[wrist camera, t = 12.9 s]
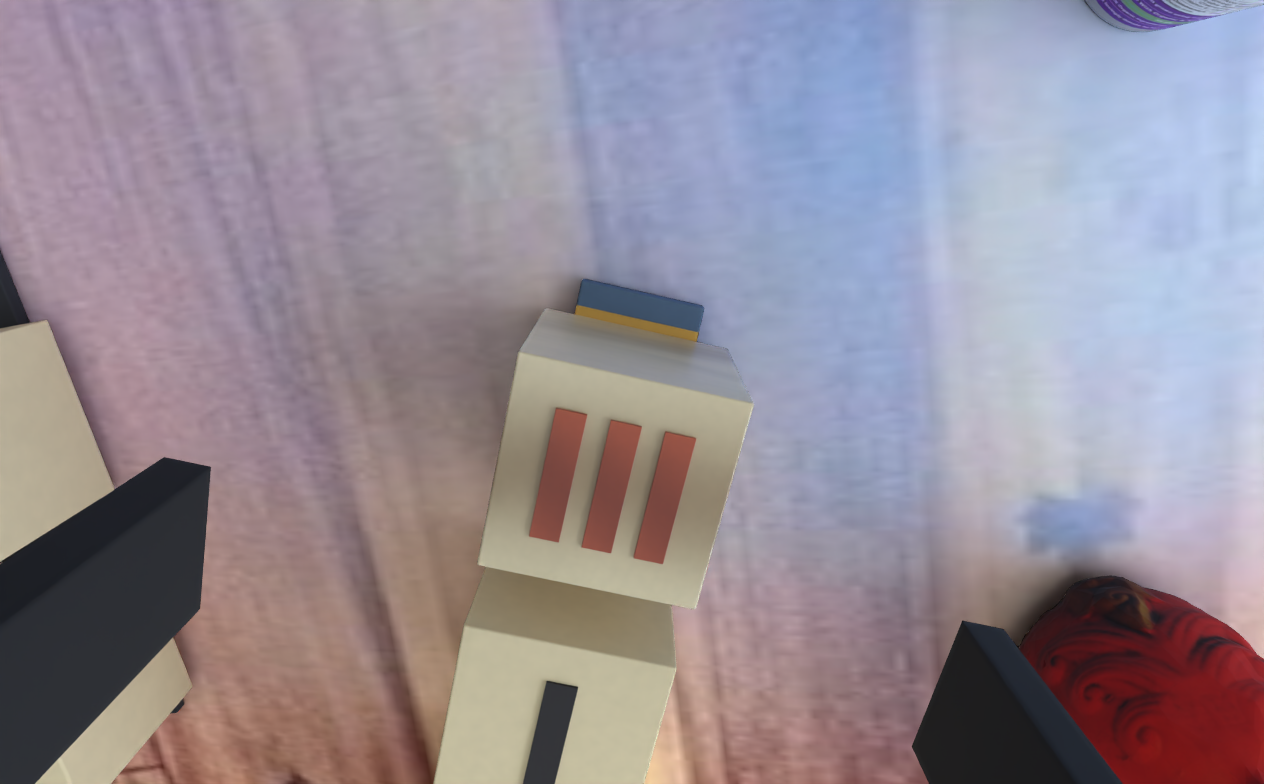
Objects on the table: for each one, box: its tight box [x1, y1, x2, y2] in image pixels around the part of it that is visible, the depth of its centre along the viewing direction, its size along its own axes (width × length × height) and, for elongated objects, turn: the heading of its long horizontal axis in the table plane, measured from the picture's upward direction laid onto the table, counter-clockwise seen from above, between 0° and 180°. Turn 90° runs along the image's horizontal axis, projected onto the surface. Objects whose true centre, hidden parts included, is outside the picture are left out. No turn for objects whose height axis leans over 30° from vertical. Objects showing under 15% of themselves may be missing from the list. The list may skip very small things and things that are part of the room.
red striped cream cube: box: [477, 308, 754, 609], centre depth 23 cm, size 6×6×6 cm
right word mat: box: [433, 279, 704, 784], centre depth 26 cm, size 24×6×7 cm, turn 167°
